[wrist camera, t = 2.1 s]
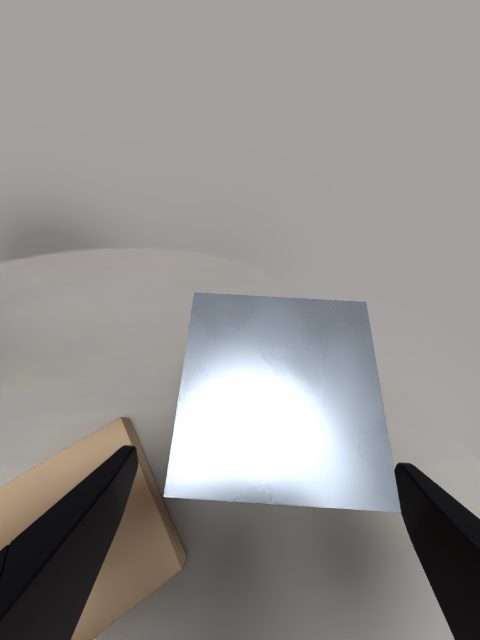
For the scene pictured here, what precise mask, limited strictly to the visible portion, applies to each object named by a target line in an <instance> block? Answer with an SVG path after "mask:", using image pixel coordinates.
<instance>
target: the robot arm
mask: <svg viewBox="0 0 480 640" xmlns="http://www.w3.org/2000/svg"><path fill="white" fill-rule="evenodd" d="M137 470H138V455H137V448H136V446H134V445H124V446H122V447H121V448H119V449H118V450H117V451H116V452H115V453H114V454H112V455H111V456H110V457H109V458H108V459H107V460H105V461H104V462H103V463H102V464H101V465H100V466H98V467H97V468H96V469H95V470H94V471H93V472H91V473H90V474H89V475H88V476H87V477H86V478H84V479H83V480H82V481H81V482H80V483H79V484H77V485H76V486H75V487H74V488H73V489H72V490H70V491H69V492H68V493H67V494H66V495H65V496H63V497H62V498H61V499H60V500H59V501H58V502H56V503H55V504H54V505H53V506H52V507H51V508H49V509H48V510H47V511H46V512H45V513H44V514H42V515H41V516H40V517H39V518H38V519H36V520H35V521H34V522H33V523H32V524H31V525H29V526H28V527H27V528H26V529H25V530H24V531H22V532H21V533H20V534H19V535H18V536H17V537H15V538H14V539H13V540H12V541H11V542H10V545H9V544H8V545H6V546H5V547H4V548H2V549H1V550H0V640H71V638H72V636H73V633H74V631H75V629H76V626H77V624H78V622H79V619H80V617H81V615H82V612H83V610H84V607H85V605H86V603H87V600H88V598H89V596H90V593H91V591H92V589H93V586H94V584H95V581H96V579H97V577H98V574H99V572H100V570H101V567H102V565H103V563H104V560H105V558H106V555H107V553H108V551H109V548H110V546H111V544H112V541H113V539H114V537H115V534H116V532H117V529H118V527H119V524H120V522H121V519H122V516H123V514H124V511H125V507H126V504H127V501H128V498H129V495H130V492H131V489H132V485H133V482H134V479H135V476H136V473H137ZM394 473H395V479H396V485H397V491H398V497H399V503H400V509H401V514H402V517H403V520H404V523H405V526H406V528H407V531H408V534H409V537H410V539H411V542H412V544H413V546H414V549H415V551H416V553H417V555H418V558H419V560H420V562H421V564H422V567H423V569H424V571H425V573H426V576H427V578H428V580H429V582H430V585H431V587H432V589H433V591H434V594H435V596H436V598H437V600H438V603H439V605H440V607H441V609H442V612H443V614H444V616H445V618H446V621H447V623H448V625H449V627H450V630H451V632H452V634H453V636H454V639H455V640H480V519H479V518H478V517H476V516H475V515H474V514H473V513H472V512H470V511H469V510H468V509H467V508H465V507H464V506H463V505H462V504H461V503H459V502H458V501H457V500H456V499H454V498H453V497H452V496H451V495H449V494H448V493H447V492H446V491H445V490H443V489H442V488H441V487H440V486H438V485H437V484H436V483H435V482H434V481H432V480H431V479H430V478H429V477H427V476H426V475H425V474H424V473H423V472H421V471H420V470H419V469H418V468H416V467H415V466H414V465H412V464H410V463H398V464H397V465H396V468H395V470H394Z"/></svg>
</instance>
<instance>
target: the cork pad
mask: <svg viewBox="0 0 480 640" xmlns="http://www.w3.org/2000/svg"><path fill="white" fill-rule="evenodd" d="M124 445H134V446H136V448H137V455H138V470H137V473H136V476H135V479H134V482H133V485H132V489H131V492H130V495H129V498H128V501H127V504H126V507H125V511H124V514H123V516H122V519H121V522H120V524H119V527H118V529H117V532H116V534H115V537H114V539H113V541H112V544H111V546H110V548H109V551H108V553H107V555H106V558H105V560H104V563H103V565H102V567H101V570H100V572H99V574H98V577H97V579H96V581H95V584H94V586H93V589H92V591H91V593H90V596H89V598H88V600H87V603H86V605H85V607H84V610H83V612H82V615H81V617H80V619H79V622H78V624H77V626H76V629H75V631H74V633H73V636H72V638H71V640H92V639H93V638H94V637H96V636H97V635H98V634H99V633H101V632H102V631H103V630H105V629H106V628H107V627H108V626H110V625H111V624H112V623H114V622H115V621H116V620H118V619H119V618H120V617H121V616H123V615H124V614H125V613H127V612H128V611H129V610H130V609H132V608H133V607H134V606H136V605H137V604H138V603H140V602H141V601H142V600H143V599H145V598H146V597H147V596H149V595H150V594H151V593H152V592H154V591H155V590H156V589H158V588H159V587H160V586H162V585H163V584H164V583H165V582H167V581H168V580H169V579H171V578H172V577H173V576H174V575H176V574H177V573H178V572H180V571H181V570H182V568H183V566H184V563H185V561H186V558H187V557H186V554H185V552H184V549H183V547H182V544H181V542H180V540H179V537H178V535H177V532H176V530H175V528H174V525H173V523H172V520H171V518H170V515H169V513H168V511H167V508H166V506H165V503H164V501H163V499H162V496H161V494H160V491H159V489H158V486H157V484H156V482H155V479H154V477H153V474H152V472H151V470H150V467H149V465H148V462H147V460H146V457H145V455H144V453H143V450H142V448H141V445H140V443H139V441H138V438H137V436H136V433H135V431H134V428H133V426H132V424H131V421H130V419H129V418H123V417H120V418H118V419H117V420H115V421H113V422H111V423H110V424H108V425H106V426H105V427H103V428H101V429H100V430H98V431H96V432H94V433H93V434H91V435H89V436H88V437H86V438H84V439H83V440H81V441H79V442H77V443H76V444H74V445H72V446H71V447H69V448H67V449H66V450H64V451H62V452H60V453H59V454H57V455H55V456H54V457H52V458H50V459H48V460H47V461H45V462H43V463H42V464H40V465H38V466H37V467H35V468H33V469H31V470H30V471H28V472H26V473H25V474H23V475H21V476H20V477H18V478H16V479H14V480H13V481H11V482H9V483H8V484H6V485H4V486H3V487H1V488H0V550H1V549H2V548H4V547H5V546H6V545H8V544H9V545H10V542H11V541H12V540H13V539H14V538H15V537H17V536H18V535H19V534H20V533H21V532H22V531H24V530H25V529H26V528H27V527H28V526H29V525H31V524H32V523H33V522H34V521H35V520H36V519H38V518H39V517H40V516H41V515H42V514H44V513H45V512H46V511H47V510H48V509H49V508H51V507H52V506H53V505H54V504H55V503H56V502H58V501H59V500H60V499H61V498H62V497H63V496H65V495H66V494H67V493H68V492H69V491H70V490H72V489H73V488H74V487H75V486H76V485H77V484H79V483H80V482H81V481H82V480H83V479H84V478H86V477H87V476H88V475H89V474H90V473H91V472H93V471H94V470H95V469H96V468H97V467H98V466H100V465H101V464H102V463H103V462H104V461H105V460H107V459H108V458H109V457H110V456H111V455H112V454H114V453H115V452H116V451H117V450H118V449H119V448H121V447H122V446H124Z"/></svg>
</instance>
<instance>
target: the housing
mask: <svg viewBox="0 0 480 640" xmlns="http://www.w3.org/2000/svg"><path fill="white" fill-rule="evenodd" d="M164 497H171V498H187V499H202V500H217V501H232V502H248V503H263V504H278V505H293V506H309V507H324V508H339V509H354V510H370V511H385V512H400V513H401V509H400V503H399V497H398V491H397V485H396V479H395V473H394V467H393V461H392V455H391V449H390V443H389V437H388V431H387V425H386V419H385V413H384V407H383V401H382V395H381V389H380V383H379V377H378V371H377V365H376V359H375V353H374V347H373V341H372V335H371V329H370V323H369V317H368V311H367V305H366V302H356V301H338V300H320V299H302V298H283V297H265V296H247V295H229V294H211V293H194V298H193V305H192V311H191V318H190V325H189V331H188V338H187V345H186V351H185V358H184V365H183V371H182V378H181V385H180V391H179V398H178V405H177V411H176V418H175V425H174V431H173V438H172V445H171V451H170V458H169V464H168V471H167V478H166V484H165V491H164Z"/></svg>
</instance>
